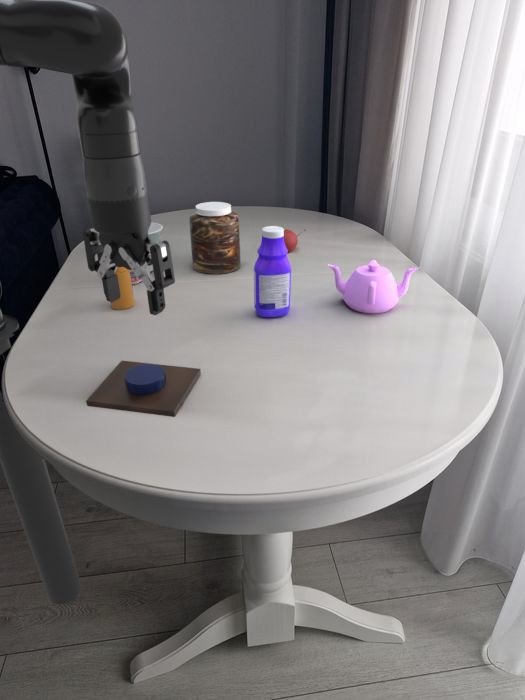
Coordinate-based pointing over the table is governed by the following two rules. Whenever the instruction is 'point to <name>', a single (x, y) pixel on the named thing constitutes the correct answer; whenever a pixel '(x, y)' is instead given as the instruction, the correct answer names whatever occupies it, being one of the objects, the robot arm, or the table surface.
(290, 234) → the fruit
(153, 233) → the food container
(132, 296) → the orange cylindrical container
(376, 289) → the teapot
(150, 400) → the board
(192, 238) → the jar
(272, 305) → the bottle
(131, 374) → the lid
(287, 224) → the table surface
